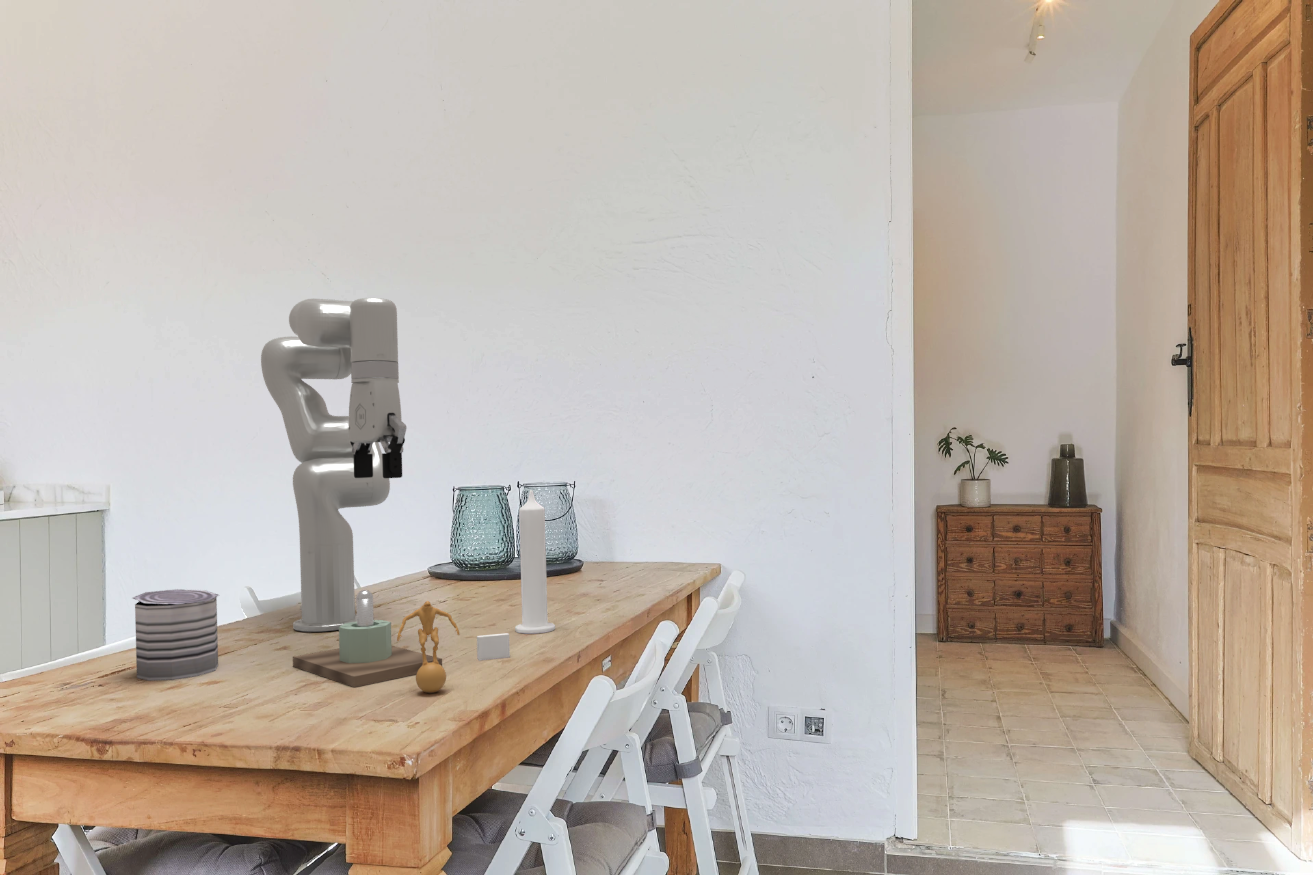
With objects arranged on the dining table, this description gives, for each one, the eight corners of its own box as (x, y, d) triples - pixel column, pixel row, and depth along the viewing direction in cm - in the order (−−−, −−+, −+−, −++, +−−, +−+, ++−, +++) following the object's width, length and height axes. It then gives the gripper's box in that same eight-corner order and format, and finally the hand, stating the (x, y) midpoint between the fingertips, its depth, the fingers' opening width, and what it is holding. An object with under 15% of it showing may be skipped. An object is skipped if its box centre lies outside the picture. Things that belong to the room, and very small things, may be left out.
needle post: (355, 657, 144) (353, 590, 144) (369, 654, 145) (367, 588, 145) (362, 659, 142) (360, 591, 142) (377, 657, 144) (375, 589, 144)
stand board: (292, 666, 146) (292, 656, 146) (376, 650, 156) (376, 641, 156) (354, 687, 132) (353, 676, 132) (442, 668, 141) (442, 658, 141)
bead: (333, 658, 144) (332, 625, 144) (375, 650, 149) (374, 618, 149) (356, 665, 139) (355, 630, 139) (398, 656, 144) (397, 623, 144)
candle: (558, 625, 173) (554, 488, 173) (550, 633, 166) (546, 490, 166) (520, 626, 173) (516, 489, 174) (510, 634, 166) (506, 491, 167)
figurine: (401, 699, 124) (398, 607, 124) (396, 689, 130) (394, 601, 130) (465, 691, 127) (462, 602, 127) (457, 682, 133) (455, 596, 133)
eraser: (477, 659, 148) (476, 635, 148) (508, 656, 149) (507, 632, 149) (478, 660, 146) (477, 637, 146) (509, 657, 148) (509, 634, 148)
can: (195, 660, 153) (193, 585, 153) (234, 668, 146) (232, 590, 146) (121, 675, 143) (119, 595, 143) (159, 684, 137) (157, 601, 137)
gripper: (329, 377, 160) (332, 478, 160) (379, 369, 148) (382, 479, 148) (370, 378, 166) (373, 476, 165) (422, 371, 153) (425, 477, 153)
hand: (377, 477), depth 157 cm, fingers open, 9 cm apart
